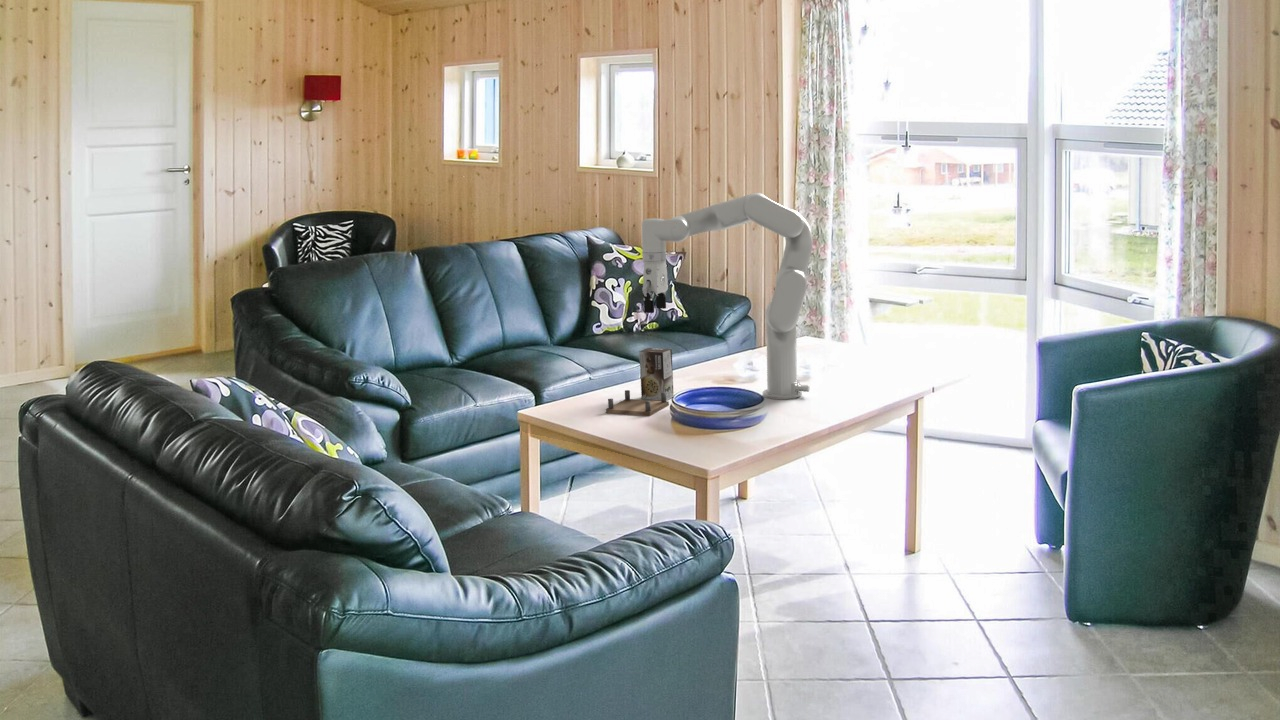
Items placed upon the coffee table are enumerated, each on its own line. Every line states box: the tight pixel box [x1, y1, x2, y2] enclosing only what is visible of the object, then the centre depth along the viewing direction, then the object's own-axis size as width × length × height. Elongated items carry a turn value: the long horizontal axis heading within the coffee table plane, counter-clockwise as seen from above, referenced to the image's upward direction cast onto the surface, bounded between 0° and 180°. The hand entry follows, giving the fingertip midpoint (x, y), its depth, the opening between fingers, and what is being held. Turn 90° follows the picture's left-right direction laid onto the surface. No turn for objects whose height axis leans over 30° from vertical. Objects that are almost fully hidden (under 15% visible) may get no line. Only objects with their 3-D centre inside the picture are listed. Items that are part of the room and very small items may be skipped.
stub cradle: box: [605, 389, 670, 417], centre depth 379 cm, size 15×15×4 cm
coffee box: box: [638, 347, 674, 401], centre depth 392 cm, size 9×6×16 cm
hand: (655, 310), depth 388 cm, fingers open, 9 cm apart
